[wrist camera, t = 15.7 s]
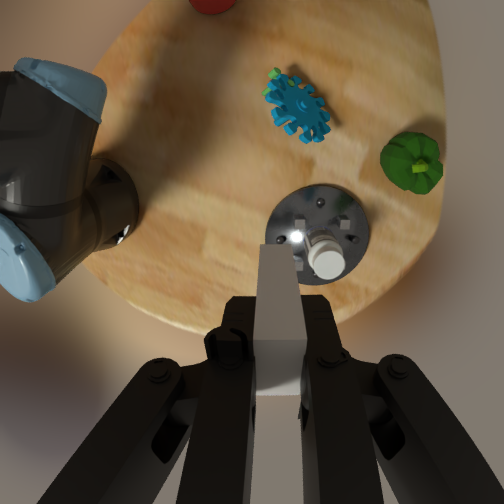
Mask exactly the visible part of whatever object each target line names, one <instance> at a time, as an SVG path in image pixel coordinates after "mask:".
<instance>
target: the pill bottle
mask: <svg viewBox="0 0 504 504" xmlns="http://www.w3.org/2000/svg"><path fill="white" fill-rule="evenodd" d="M303 244H304V248H305V251H306V255H307V258H308V262H309V264H310V266H311V267H312V269H314V271H315V273H316V274H317V275H318V276H319V277H320V278H322V279H333V278H336V277H337V276H339V275H340V274H341V273H342V271H343V269H344V266H345V261H344V258H343V251H342V248H341V246H340V245H339V243H338V241H337V240H336V238H335V236H334V235H333V233H332V231H331V230H330V229H329V228H327V227H325V226H314V227H312V228H310V229H309V230H308V231H307V232H306V234H305V236H304V239H303Z"/></svg>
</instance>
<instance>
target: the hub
mask: <svg viewBox="0 0 504 504" xmlns="http://www.w3.org/2000/svg"><path fill="white" fill-rule="evenodd" d="M314 226H325V227H327V228H329V229H330V230H331V231H332V233H333V235H334V236H335V238H336V240H337V241H338V243H339V245H340V246H341V248H342V251H343V258H344V261H345V266H344V269H343V271H342V273H341V274H340V275H339V276H337V277H336V278H333V279H322V278H320V277H319V276H318V275H317V274H316V273H315V271H314V269H312V267H311V266H310V264H309V262H308V258H307V255H306V251H305V248H304V244H303V239H304V236H305V234H306V232H307V231H308V230H309V229H310V228H312V227H314ZM368 238H369V228H368V223H367V219H366V216H365V214H364V212H363V210H362V208H361V207H360V206H359V204H358V203H357V202H356V201H355V200H354V199H353V198H352V197H351V196H349V195H348V194H347V193H345V192H343V191H341V190H339V189H336V188H333V187H329V186H309V187H305V188H302V189H299V190H297V191H295V192H292V193H291V194H289V195H288V196H286V197H285V198H284V199H283V200H282V201H281V202H280V203H279V204H278V205H277V206H276V207H275V209H274V210H273V212H272V213H271V215H270V217H269V220H268V223H267V227H266V233H265V243H266V244H291V245H292V250H293V255H294V261H295V267H296V272H297V278H298V283H300V284H305V285H324V284H328V283H332V282H334V281H337V280H339V279H341V278H343V277H344V276H346V275H347V274H348V273H350V272H351V271H352V270H353V269H354V268H355V267H356V266H357V265H358V263H359V262H360V260H361V259H362V257H363V255H364V253H365V251H366V248H367V244H368Z"/></svg>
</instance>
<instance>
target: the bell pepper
mask: <svg viewBox="0 0 504 504" xmlns="http://www.w3.org/2000/svg"><path fill="white" fill-rule="evenodd" d="M439 155H440V153H439V148H438V144H437V142H436V141H435V140H433V139H432V138H430V137H428V136H426V135H425V134H423V133H415V132H404V133H401V134H399V135H397V136H395V137H394V138H392V139H391V140H390V141H389V145H386V146H384V148H383V150H382V152H381V153H380V164H381V166H382V169H383V171H384V173H385V174H386V176H387V177H388V179H389V180H390V181H391V182H393V183H394V184H395V185H397V186H398V187H399V188H401V189H403V190H404V191H405V190H410V191H412V192H413V193H415V194H424V195H425V194H427V193H429V192H430V191H431V190H432V189H433V188H434V186H435V185H436V184H437V183H438V181H439V180H440V179H441V177H442V176H443V164H442V163H440V162H439V161H438V158H439Z"/></svg>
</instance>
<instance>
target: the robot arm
mask: <svg viewBox="0 0 504 504" xmlns="http://www.w3.org/2000/svg"><path fill="white" fill-rule="evenodd" d="M13 69H14V71H10V72H9V71H7V72H5V71H0V283H1V285H2V286H3V287H4V288H5V289H6V290H7V291H9V293H10V294H12V295H13V296H15V297H16V298H18V299H20V300H22V301H25V302H34V301H37V300H39V299H40V298H41V297H43V296H44V295H45V294H46V293H48V292H49V291H52V290H53V289H54V288H55V286H56V285H57V284H58V283H59V282H60V281H61V280H62V279H63V278H64V277H65V276H66V275H67V274H69V273H70V271H72V270H73V269H74V268H75V267H76V266H77V265H78V264H79V263H81V262H82V261H83V260H84V259H85V258H86V257H88V256H89V255H90V254H91V253H92V252H96V251H101V250H105V249H109V248H112V247H115V246H116V245H118V244H120V243H121V242H122V241H123V240H124V239H125V238H127V237H128V236H129V235H130V233H131V232H132V231H133V229H134V227H135V225H136V222H137V218H138V212H139V202H138V195H137V192H136V188H135V186H134V184H133V182H132V180H131V178H130V176H129V175H128V174H127V172H126V171H125V170H124V169H123V168H122V167H121V166H119V165H118V164H116V163H115V162H113V161H110V160H107V159H100V158H99V159H92V160H90V159H91V154H92V150H93V146H94V142H95V138H96V135H97V131H98V128H99V124H101V122H102V120H101V115H102V111H103V107H104V103H105V100H106V96H107V87H106V84H105V82H104V81H103V80H102V79H101V78H99V77H97V76H95V75H93V74H91V73H88V72H85V71H83V70H80V69H77V68H74V67H71V66H67V65H64V64H60V63H56V62H51V61H46V60H43V61H42V60H39V59H33V58H27V57H26V58H25V57H24V58H21V59H19V60H18V62H17V63H16V64H15V65H14V68H13ZM204 344H205V349H206V353H207V358H208V359H207V360H205V361H203V362H201V363H198V364H194V365H189V366H183V367H180V366H179V365H178V363H177V362H175V361H173V360H172V359H169V358H157V359H153V360H150V361H148V362H146V363H145V364H144V365H143V366H142V367H141V368H140V369H139V371H138V372H137V373H136V374H135V376H134V377H133V378H132V379H131V381H130V382H129V383H128V384H127V386H126V387H125V388H124V390H123V391H122V392H121V394H120V395H119V396H118V397H117V399H116V400H115V401H114V403H113V404H112V405H111V406H110V407H109V409H108V410H107V411H106V413H105V414H104V415H103V417H102V418H101V419H100V420H99V422H98V423H97V424H96V425H95V427H94V428H93V429H92V431H91V432H90V433H89V435H88V436H87V437H86V438H85V440H84V441H83V442H82V444H81V445H80V446H79V448H78V449H77V450H76V452H75V453H74V454H73V456H72V457H71V458H70V459H69V461H68V462H67V464H66V465H65V466H64V467H63V469H62V470H61V471H60V473H59V474H58V475H57V477H56V478H55V479H54V481H53V482H52V483H51V485H50V486H49V488H48V489H47V490H46V492H45V493H44V494H43V496H42V497H41V498H40V500H39V501H38V503H37V504H152V503H153V502H154V500H155V498H156V497H157V495H158V493H159V491H160V490H161V488H162V486H163V484H164V483H165V481H166V479H167V477H168V475H169V474H170V472H171V470H172V468H173V467H174V465H175V463H176V461H177V460H178V458H179V456H180V454H181V452H182V451H183V449H184V447H185V445H186V443H187V441H188V440H189V444H188V448H187V453H186V458H185V462H184V466H183V471H182V476H181V481H180V485H179V490H178V495H177V500H176V504H250V494H251V479H252V464H253V448H254V433H255V414H256V401H255V400H256V395H299V394H300V391H301V404H300V409H299V414H298V419H300V421H301V440H302V463H303V492H304V493H303V495H304V504H384V501H383V494H382V488H381V482H380V476H379V471H378V465H377V461H378V463H379V465H380V466H381V468H382V471H383V473H384V475H385V477H386V479H387V481H388V482H389V485H390V486H391V488H392V491H393V492H394V495H395V497H396V498H397V501H398V503H399V504H504V489H503V488H502V486H501V485H500V483H499V481H498V479H497V478H496V476H495V474H494V473H493V471H492V470H491V468H490V467H489V465H488V463H487V462H486V460H485V459H484V457H483V456H482V454H481V452H480V451H479V450H478V448H477V446H476V445H475V444H474V442H473V440H472V439H471V438H470V436H469V435H468V433H467V432H466V430H465V429H464V427H463V426H462V425H461V423H460V422H459V421H458V419H457V418H456V416H455V415H454V413H453V412H452V411H451V409H450V408H449V407H448V405H447V404H446V403H445V401H444V400H443V398H442V397H441V396H440V394H439V393H438V392H437V391H436V389H435V388H434V387H433V385H432V384H431V383H430V381H429V380H428V379H427V378H426V377H425V375H424V374H423V372H422V371H421V370H420V369H419V367H418V366H417V365H416V364H415V362H413V361H412V360H411V359H410V358H408V357H406V356H404V355H400V354H392V355H387V356H385V357H383V358H382V359H381V360H380V362H379V363H378V364H375V363H369V362H363V361H359V360H356V359H354V358H352V357H351V355H350V354H349V352H348V351H347V350H345V349H344V348H343V347H342V344H341V340H340V337H339V333H338V330H337V326H336V323H335V319H334V316H333V313H332V309H331V306H330V303H329V301H328V300H327V299H326V298H325V297H324V296H323V295H300V290H299V284H298V278H297V272H296V267H295V261H294V255H293V250H292V245H291V244H260V255H259V269H258V282H257V295H256V296H233V297H232V298H231V299H230V300H229V301H228V302H227V303H226V306H225V310H224V314H223V319H222V323H221V326H220V327H217V328H214V329H212V330H211V331H210V332H208V333H207V335H206V336H205V338H204ZM189 438H190V439H189ZM376 459H377V460H376Z"/></svg>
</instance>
